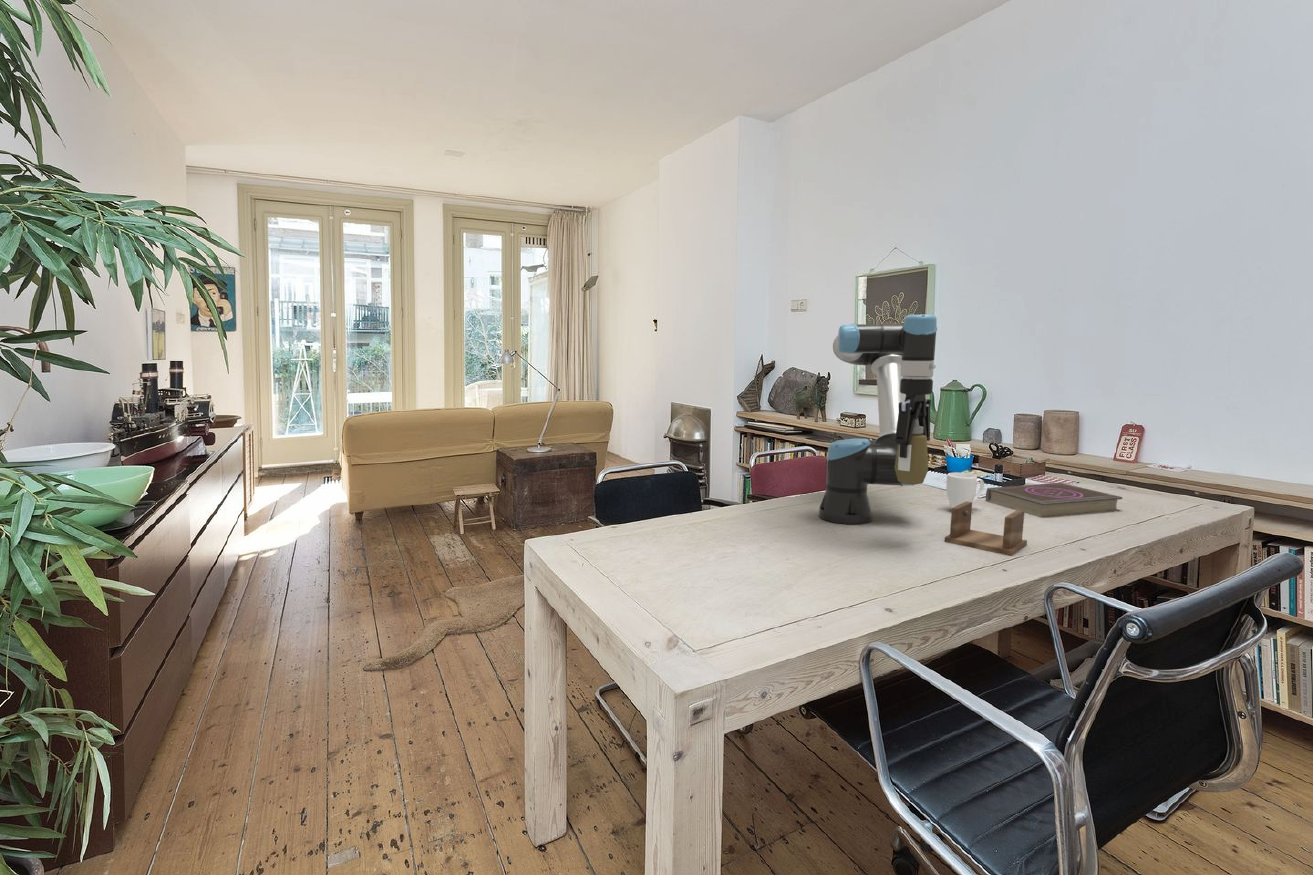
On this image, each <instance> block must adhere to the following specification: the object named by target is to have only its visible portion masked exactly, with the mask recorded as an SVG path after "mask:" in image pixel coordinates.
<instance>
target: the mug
mask: <svg viewBox="0 0 1313 875" xmlns="http://www.w3.org/2000/svg"><path fill="white" fill-rule="evenodd" d="M946 475H947V476H946V497H947V499H948V502H949V505H950V508H951V510H952V508H953V507H955V506H957V505H959V504H961V503H964V502H966V501H967V502H972V504H973V503H974V502H976V500H977V499H979V497H980V496H981V495H982V494H983V492H984V490H985V482H984V480H983V479H981V478H979V477H978V476H977V475H975V474H974V473H973V474H972V473H968V472H949V473H948V474H946ZM978 482H979V489H978V491H977V487H978V486H977V484H978Z"/></svg>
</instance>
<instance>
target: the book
mask: <svg viewBox="0 0 1313 875" xmlns="http://www.w3.org/2000/svg"><path fill="white" fill-rule="evenodd" d="M985 492H986V493H985V502H988V503H991V504H995V505H998V506H1001V507H1005V508H1009V509H1011V510H1014V511H1016V510H1022V511H1024V514H1028V515H1032V516H1035V517H1038V518H1040V519H1047V518H1059V517H1067V516H1068V517H1069V516H1081V515H1083V516H1084V515H1090V514H1091V515H1093V514H1104V513H1113V512H1114V513H1116V512H1115V511H1117V512H1121V511H1122V510H1121V509H1117V504H1118V500H1123V497H1122V496H1120V495H1119V496H1118V495H1115V494H1110V493H1106V492H1101V491H1098V490H1093V489H1089V488H1086V487H1081V486H1076V485H1072V484H1067V483H1062V482H1053V483H1041V484H1040V483H1039V484H1027V485H1025V484H1024V485H1009V486H998V487H997V486H996V487H987V489H986V491H985Z"/></svg>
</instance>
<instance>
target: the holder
mask: <svg viewBox="0 0 1313 875" xmlns="http://www.w3.org/2000/svg"><path fill="white" fill-rule="evenodd" d="M972 511H973V503H972V502H967V501H966V502H964V503H961V504H959V505H957V506H955V507H953V508H952V509H951V514H950V516H951V517H950V529H949V531H950V532H949V534H948V535H946V536H945V537H944V542H945V543H950V544H954V545H959V546H963V547H964V546H965V547H969V548H974V549H979V550H983V551H989V552H993V553H996V554H997V553H998V554H1002V555H1007V556H1013V555H1015V554H1016V553H1018V552H1019V551H1021V550H1022V549H1024V548H1025V547H1026V546H1027V545H1028V540H1027V539H1023V532H1024V521H1025V520H1024V519H1025V513H1024V511H1022V510H1014V511H1013V512H1011V513H1009V514H1008V515H1005V517H1004V522H1003V523H1004V524H1003V535H1000V534H995V533H990V532H984V531H980V530H979V531H978V530H975V529H971V525H972V514H973V513H972Z"/></svg>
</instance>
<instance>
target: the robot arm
mask: <svg viewBox="0 0 1313 875" xmlns="http://www.w3.org/2000/svg"><path fill="white" fill-rule="evenodd" d="M937 323H938V322H937V316H935V315H934V314H908V315H906V316H904V320H903V323H895V324H893V323H888V324H887V323H886V324H884V323H883V324H882V323H881V324H875V323H874V324H871V323H870V324H869V323H868V324H867V323H866V324H864V323H863V324H862V323H861V324H860V323H859V324H856V323H850V324H841V325H840V326H839V327H838V328H839V329H838V334H837V336H835V338H834V340H833V343H832V349H833V354H834V355H835V356H836V358H838V360H840V361H842V362H845V363H847V364H850V365H855V366H870V369H871V372H872V373H873V374H874V375H876V387H877V388H876V390H877V406H878V410H877V411H878V428H879V436H877V438H876V439H875V440H874V443H873V444H871V442H870V439H867V438H845V439H840V440H836V441H833V442H831V443H830V444H828V448H827V457H826V460H827V461H826V463H827V464H826V483H825V492H824V495H823V498H822V500H821V503H820V504H819V508H818V517H819V518H820V519H822V520H824V521H828V522H831V523H837V524H844V525H845V524H846V525H859V524H860V525H861V524H867V523H870V522H871V521H872V520H873V511H872V507H871V506H872V505H871V504H870V503H871V502H870V499H869V497H868V496H869V495H868V485H883V486H885V485H886V486H901V487H904V486H916V485H917V484H905V483H901V482H899V481H898V478H897V475H896V471H895V461H896V455H897V449H898V444H899V460H898V470H902V471H910V460H911V445H909V444H910V440H911V436H912V431H913V427H914V423H915V420H916V419H917V418H918V421H919V426H922V427H923V434H922V435H925V436H926V437H927V442H929V441H931V405H932V404H931V403H932V400H931V399H927V398H926V397H927V396H926V395H931V394H933V387H934V380H933V379H932V377H933V376H934V370H935V369H936V364H935V355H936V354H935V352H936V340H937V331H938V326H937Z"/></svg>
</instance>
